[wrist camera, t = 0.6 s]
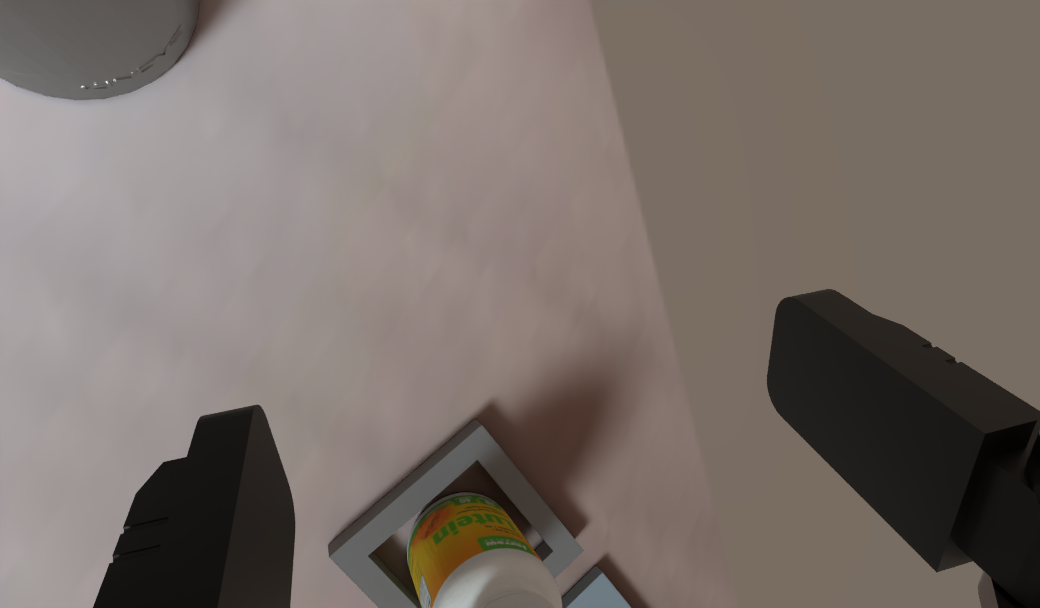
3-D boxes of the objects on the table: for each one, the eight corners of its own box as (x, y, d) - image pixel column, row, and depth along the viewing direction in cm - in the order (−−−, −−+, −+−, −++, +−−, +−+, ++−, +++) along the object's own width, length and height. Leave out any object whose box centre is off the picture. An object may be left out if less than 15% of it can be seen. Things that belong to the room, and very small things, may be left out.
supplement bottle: (502, 477, 32) (583, 570, 23) (517, 575, 33) (601, 702, 24) (396, 506, 31) (437, 619, 22) (414, 608, 31) (461, 759, 22)
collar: (328, 544, 30) (329, 557, 29) (475, 418, 32) (481, 424, 30) (443, 664, 32) (449, 679, 31) (574, 540, 34) (583, 550, 33)
